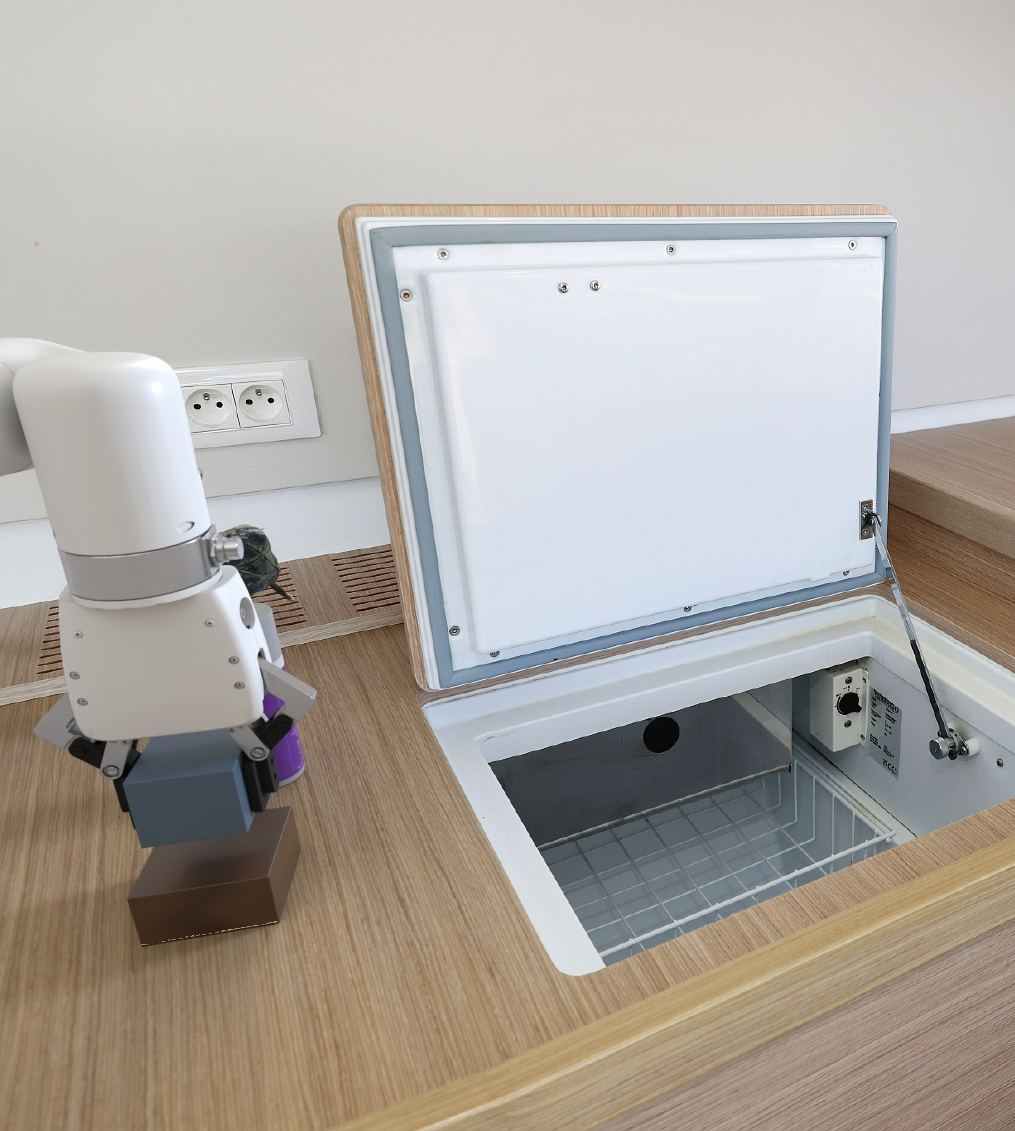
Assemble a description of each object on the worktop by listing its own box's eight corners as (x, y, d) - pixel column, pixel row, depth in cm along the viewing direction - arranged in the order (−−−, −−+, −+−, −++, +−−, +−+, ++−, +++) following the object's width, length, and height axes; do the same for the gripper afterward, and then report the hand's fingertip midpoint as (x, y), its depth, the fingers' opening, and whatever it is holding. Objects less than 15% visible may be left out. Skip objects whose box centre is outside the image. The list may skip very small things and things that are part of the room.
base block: (140, 946, 62) (126, 898, 60) (178, 867, 69) (165, 822, 67) (279, 923, 64) (268, 876, 63) (301, 848, 71) (292, 805, 70)
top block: (170, 794, 66) (153, 733, 64) (268, 781, 67) (254, 721, 66) (141, 849, 60) (121, 783, 58) (248, 833, 62) (232, 769, 60)
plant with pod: (297, 637, 102) (264, 459, 95) (171, 656, 97) (126, 469, 90) (297, 608, 109) (266, 439, 101) (180, 624, 104) (138, 447, 96)
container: (316, 770, 80) (286, 611, 75) (261, 797, 77) (224, 632, 71) (284, 752, 83) (252, 596, 77) (229, 778, 79) (191, 616, 73)
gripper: (315, 531, 63) (355, 759, 70) (-2, 550, 58) (75, 795, 64) (293, 574, 56) (340, 821, 63) (-67, 600, 51) (27, 867, 58)
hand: (206, 806), depth 64 cm, fingers closed on top block, 6 cm apart
